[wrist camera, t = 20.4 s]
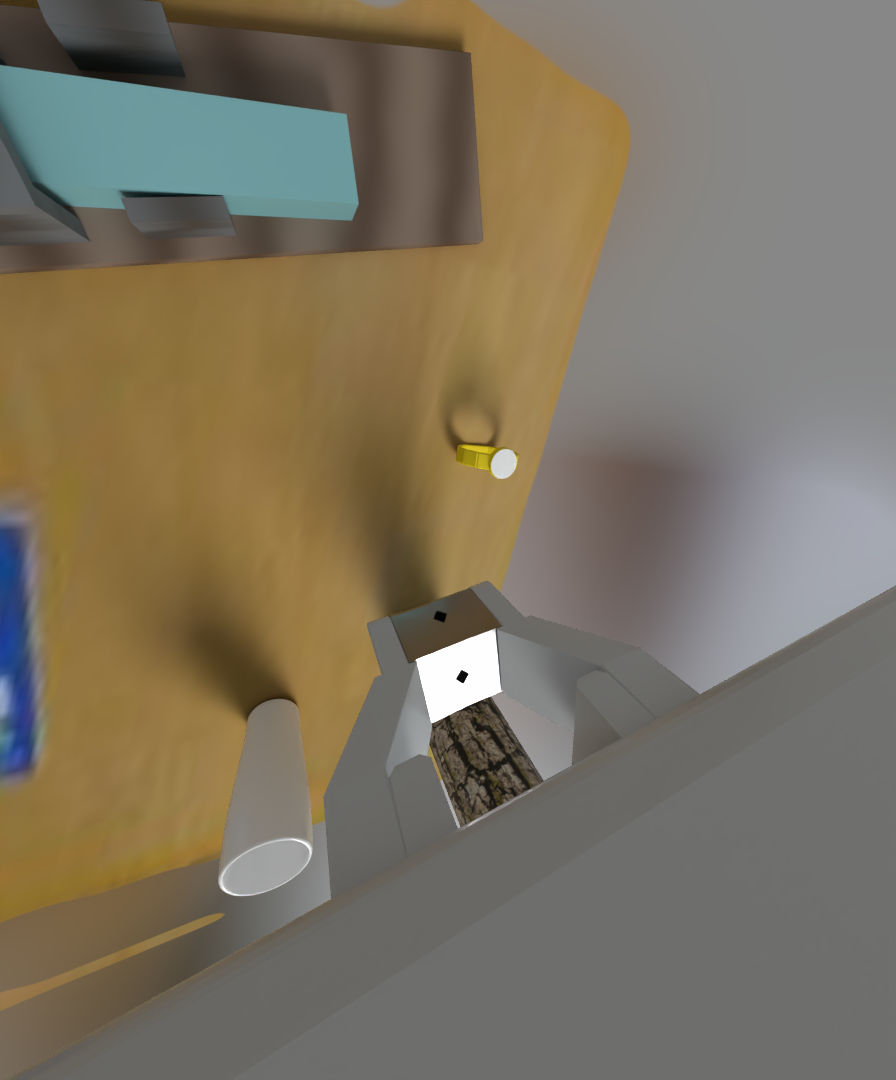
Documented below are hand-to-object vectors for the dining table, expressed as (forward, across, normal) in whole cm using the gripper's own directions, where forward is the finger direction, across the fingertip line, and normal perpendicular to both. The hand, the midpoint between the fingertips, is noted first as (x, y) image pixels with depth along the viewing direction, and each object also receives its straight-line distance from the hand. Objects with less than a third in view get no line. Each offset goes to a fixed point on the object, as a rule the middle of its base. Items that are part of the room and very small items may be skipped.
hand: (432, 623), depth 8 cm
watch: (+27, -14, +4) cm, 31 cm away
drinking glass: (+27, +14, +28) cm, 42 cm away
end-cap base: (+27, 0, -18) cm, 32 cm away
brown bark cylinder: (+27, -4, +24) cm, 37 cm away
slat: (+26, +4, -17) cm, 32 cm away
